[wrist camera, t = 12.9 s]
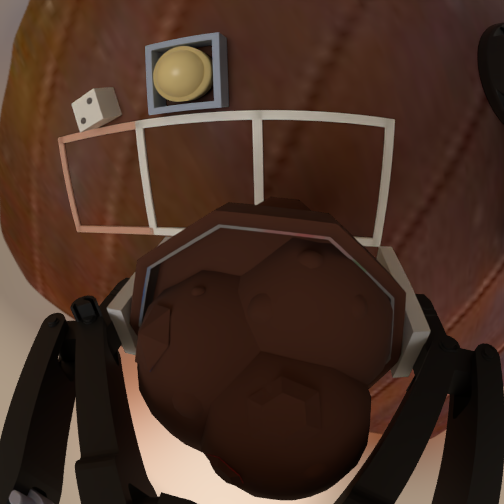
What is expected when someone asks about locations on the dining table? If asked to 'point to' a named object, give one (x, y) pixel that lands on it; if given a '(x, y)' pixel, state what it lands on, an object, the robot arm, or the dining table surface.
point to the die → (96, 108)
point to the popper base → (219, 72)
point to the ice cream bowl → (266, 343)
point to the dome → (183, 74)
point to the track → (257, 159)
